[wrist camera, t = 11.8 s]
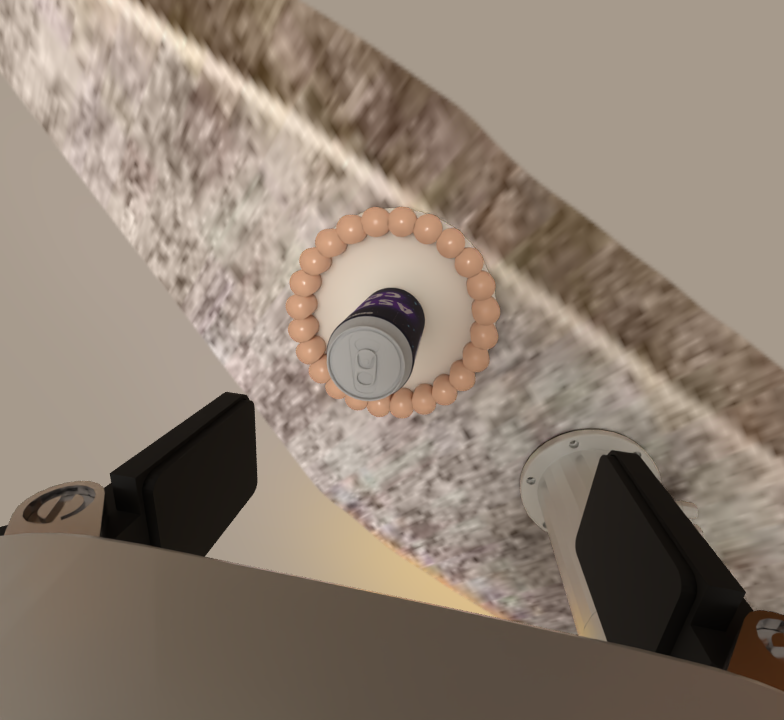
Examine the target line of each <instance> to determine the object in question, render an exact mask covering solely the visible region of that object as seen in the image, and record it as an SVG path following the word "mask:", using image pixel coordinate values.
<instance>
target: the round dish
mask: <svg viewBox="0 0 784 720" xmlns="http://www.w3.org/2000/svg"><path fill="white" fill-rule="evenodd" d="M315 245H316V246H315V247H314V248H309V249H306V250H304V251H303V252H302V254H301V256H300V260H299V262H300V266H301V268H302V270H300V271H297V272H295V273H293V274H292V276H291V278H290V288H291V290H292V291H293V292H294V293H295V295H293V296H291V297H289V298H288V300H287V302H286V310H287V312H288V314H289V315H290V316H291V317H292V318H294V320H293V321H291V322H290V324H289V326H288V332H289V335H290V337H291V338H292V339H293V340H294V341H296V342H299V343H300V344H299V345H298V346H297V348H296V354H297V357H298V359H299V360H300V361H301V362H303V363H305V364H311V365H310V367H309V375H310V377H311V378H312V379H313V380H314V381H315V382H317V383H326V386H325V388H326V391H327V393H328V394H329V395H330V396H331V397H333V398H335V399H342V398H344V397H345V401H346V403H347V405H348V406H349V407H350V408H351V409H354V410H362V409H364V408H366V406H367V409H368V411H369V412H370V413H371V414H372V415H374V416H376V417H383V416H385V415H387V414H388V413H389V411H390V412H391V413H392V414H393V415H394V416H395V417H397V418H407V417H409V416H410V415H411V414H412V412H413V409H414V410H415V411H416V412H417V413H419V414H429V413H431V412H432V411H433V410H434V409H435V407H436V403H438V404H440V405H449V404H452V403H453V402H454V401H455V400H456V398H457V390H459V391H466V390H469V389H470V388H472V387H473V385H474V384H475V372H481V371H483V370H484V369H486V368H487V366H488V364H489V354H488V350H489V349H490V348H492V347H494V346H495V344H496V343H497V341H498V333H497V330H496V327H495V325H496V321H497V320H498V318H499V316H500V307H499V305H498V303H497V301H496V297H495V281H494V279H493V278H492V276H491V274H490V273H489V272H488V269H487V267H486V265H485V263H484V261H483V257H482V255H481V254H480V252H479V251H478V250H477V249H476V248H474V247H473V246H472V244H471V243H470V242H469V241H468V240H467V239H466V238H465V237H464V236H463V234H462V232H461V231H460V230H458V229H456V228H453V227H452V226H450V225H449V224H448V223H446V222H444V221H442V220H440V219H439V218H438V217H437V216H435V215H431V214H426V213H423V212H419V211H414V210H412V209H410V208H406V207H397V208H386V209H385V208H378V207H372V208H369V209H367V210H366V211H365V212H363V213H361V214H358V215H345V216H343V217H342V218H341V219H340V220H339V221H338V223H337V226H336V227H334V228H333V229H325V230H322V231H320V232H319V233H318V235H317V237H316V240H315ZM384 288H399V289H402V290H405V291H407V292H409V293H410V294H412V295H413V296H414V297H415V298H416V299H417V300H418V301H419V303H420V304H421V306H422V308H423V311H424V316H425V326H424V330H423V334H422V337H421V341H420V345H419V348H418V352H417V356H416V359H415V363H414V367H413V370H412V373H411V376H410V378H409V379H408V381H407V382H406V384H405V385H404V386H403V387H402V388H401V389H399V390H398V391H397V392H395V393H393V394H391V395H389V396H388V397H386V398H383V399H380V400H376V401H362V400H358V399H355V398H352V397H350V396H348V395H346V394H345V393H343V392H342V391H341V390H340V389H339V388H338V387H337V386H336V385H335V383H334V382H333V381H332V379H331V377H330V375H329V372H328V368H327V345H328V341H329V339H330V336H331V334H332V333H333V331H334V330H335V328H336V327H337V326H338V325H339V324H340V323H342V322H343V321H344V320H345V319H346V318H347V317H348V316H349V315H350V314H351V313H352V312H353V311H354V310H355V309H357V308H358V307H359V306H360V305H361V304H362V303H363V302H364V301H365V300H366V299H367V298H368V297H369V296H370V295H372V294H373V293H374V292H376V291H378V290H381V289H384Z"/></svg>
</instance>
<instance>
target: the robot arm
mask: <svg viewBox="0 0 784 720" xmlns="http://www.w3.org/2000/svg"><path fill="white" fill-rule="evenodd" d="M254 410H255V409H254V403H253V401H250V400H249V398H248V396H247V395H244V394H237V393H230V392H225V393H223V394H222V395H221V396H219V397H218V398H216V399H215V400H214V401H212V402H211V403H209V404H208V405H206V406H205V407H203V408H202V409H201V410H199V411H198V412H196V413H195V414H193V415H192V416H191V417H189V418H188V419H186V420H185V421H184V422H182V423H181V424H179V425H178V426H177V427H175V428H174V429H172V430H171V431H169V432H168V433H167V434H165V435H164V436H162V437H161V438H159V439H158V440H157V441H155V442H154V443H152V444H151V445H149V446H148V447H147V448H145V449H144V450H142V451H141V452H140V453H138V454H137V455H135V456H134V457H132V458H131V459H130V460H128V461H127V462H125V463H124V464H122V465H121V466H120V467H118V468H117V469H115V470H114V471H113V472H111V473H110V477H111V484H109V485H107V486H106V487H105V488H103V487H102V486H101V485H100V484H98V483H95V482H91V481H74V482H67V483H63V484H59V485H55V486H52V487H50V488H47V489H45V490H43V491H40V492H38V493H36V494H34V495H33V496H31V497H29V498H27V499H26V500H25V501H24V502H22V503H21V504H20V505H19V506H18V507H17V508H16V510H15V511H14V513H13V514H12V516H11V519H10V521H9V524H8V525H6V526H2V527H0V720H784V615H782V614H779V613H776V612H772V611H764V610H757V611H753V610H752V608H751V607H750V606H749V604H748V603H747V602H746V600H745V599H744V598H743V597H744V595H745V593H746V592H745V591H744V589H743V588H742V587H741V585H740V584H739V583H738V582H737V580H736V579H735V578H734V576H733V575H732V574H731V573H730V571H729V570H728V569H727V567H726V566H725V565H724V564H723V562H722V561H721V560H720V558H719V557H718V556H717V555H716V553H715V552H714V551H713V549H712V548H711V547H710V546H709V544H708V543H707V542H706V540H705V539H704V537H703V532H702V530H701V528H700V527H699V526H698V525H695V524H692V522H691V521H690V520H689V519H696V518H697V516H698V508H697V506H696V505H695V504H694V503H690V502H684V501H675V500H674V499H673V498H672V497H671V496H670V494H669V493H668V492H667V490H666V489H665V488H664V487H663V485H662V484H661V477H660V474H659V470H658V468H657V466H656V465H655V463H654V461H653V460H652V458H651V457H650V456H649V455H648V453H647V452H646V451H645V450H644V449H643V448H642V447H641V446H639V445H638V444H637V443H636V442H634V441H632V440H631V439H629V438H627V437H625V436H623V435H620V434H617V433H614V432H610V431H604V430H579V431H572V432H569V433H566V434H563V435H559V436H557V437H555V438H553V439H551V440H549V441H547V442H546V443H545V444H543V445H542V446H541V447H539V448H538V449H537V450H536V451H535V452H534V453H533V454H532V455H531V456H530V458H529V459H528V461H527V462H526V464H525V466H524V468H523V471H522V474H521V477H520V494H521V499H522V502H523V506H524V508H525V510H526V512H527V514H528V515H529V517H530V518H531V519H532V520H533V522H534V523H535V524H536V525H537V526H539V527H540V528H541V529H542V530H544V531H546V532H547V533H548V534H549V538H550V541H551V545H552V548H553V551H554V555H555V558H556V562H557V565H558V568H559V572H560V575H561V579H562V582H563V585H564V589H565V592H566V595H567V599H568V602H569V606H570V609H571V612H572V616H573V619H574V623H575V626H576V629H577V633H578V635H574V634H570V633H565V632H560V631H556V630H551V629H547V628H542V627H537V626H533V625H528V624H523V623H519V622H514V621H509V620H505V619H500V618H496V617H491V616H486V615H482V614H477V613H472V612H468V611H463V610H458V609H454V608H449V607H444V606H439V605H435V604H430V603H425V602H421V601H416V600H411V599H407V598H402V597H397V596H392V595H388V594H383V593H378V592H373V591H368V590H364V589H359V588H354V587H349V586H344V585H340V584H335V583H330V582H325V581H321V580H316V579H311V578H306V577H301V576H297V575H292V574H287V573H282V572H277V571H272V570H267V569H262V568H257V567H252V566H247V565H242V564H238V563H233V562H228V561H223V560H218V559H213V558H208V557H205V555H206V554H207V553H208V552H209V550H210V549H211V548H212V547H213V545H214V544H215V543H216V541H217V540H218V539H219V537H220V536H221V535H222V534H223V532H224V531H225V530H226V528H227V527H228V526H229V525H230V523H231V522H232V521H233V519H234V518H235V517H236V515H237V514H238V513H239V511H240V510H241V509H242V508H243V507H244V505H245V504H246V503H247V501H248V500H249V499H250V497H251V496H252V495H253V493H254V492H255V489H256V486H257V461H256V460H257V458H256V433H255V411H254ZM688 518H689V519H688Z"/></svg>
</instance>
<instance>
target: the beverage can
mask: <svg viewBox="0 0 784 720" xmlns="http://www.w3.org/2000/svg"><path fill="white" fill-rule="evenodd" d="M424 326H425V316H424V311H423V308H422V306H421V304H420V303H419V301H418V300H417V299H416V298H415V297H414V296H413V295H412V294H410V293H409V292H407V291H405V290H402V289H399V288H384V289H381V290H378V291H376V292H374V293H373V294H372V295H370V296H369V297H368V298H367V299H366V300H365V301H364V302H363V303H362V304H361V305H360V306H359V307H358V308H357V309H355V310H354V311H353V312H352V313H351V314H350V315H349V316H348V317H347V318H346V319H345V320H344V321H343V322H342V323H340V324H339V325H338V326H337V327H336V328H335V330H334V331H333V333H332V334H331V336H330V339H329V341H328V345H327V368H328V372H329V375H330V377H331V379H332V381H333V382H334V383H335V385H336V386H337V387H338V388H339V389H340V390H341V391H342V392H343V393H345V394H346V395H348V396H350V397H352V398H355V399H358V400H362V401H376V400H380V399H383V398H386V397H388V396H389V395H391V394H393V393H395V392H397V391H398V390H399V389H401V388H402V387H403V386H404V385H405V384H406V382H407V381H408V379H409V378H410V376H411V373H412V370H413V367H414V363H415V359H416V356H417V352H418V348H419V345H420V341H421V337H422V334H423V330H424Z"/></svg>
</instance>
